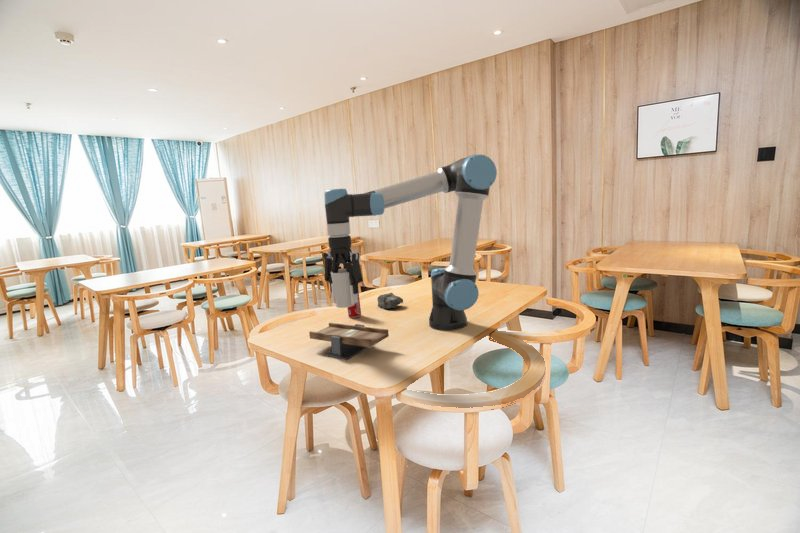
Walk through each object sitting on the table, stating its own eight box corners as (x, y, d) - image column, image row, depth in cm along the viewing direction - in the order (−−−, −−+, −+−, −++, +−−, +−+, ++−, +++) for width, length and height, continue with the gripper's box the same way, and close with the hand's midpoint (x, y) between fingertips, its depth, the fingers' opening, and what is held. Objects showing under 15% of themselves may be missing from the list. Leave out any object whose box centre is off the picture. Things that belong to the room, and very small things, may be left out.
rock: (406, 305, 193) (405, 292, 192) (398, 311, 185) (397, 297, 184) (381, 304, 199) (380, 291, 198) (372, 309, 191) (371, 296, 190)
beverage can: (356, 319, 177) (353, 285, 174) (344, 317, 180) (341, 284, 178) (364, 315, 182) (361, 282, 179) (352, 313, 185) (350, 281, 183)
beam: (388, 336, 139) (388, 329, 138) (370, 347, 129) (369, 340, 129) (330, 328, 152) (330, 322, 152) (309, 338, 143) (309, 331, 142)
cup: (352, 308, 135) (349, 273, 132) (330, 308, 136) (326, 273, 134) (360, 302, 142) (357, 268, 140) (338, 302, 144) (335, 269, 142)
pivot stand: (374, 343, 146) (373, 325, 144) (346, 360, 132) (345, 340, 131) (352, 339, 151) (350, 322, 150) (323, 355, 137) (321, 336, 136)
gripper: (370, 234, 133) (375, 301, 137) (324, 234, 144) (330, 297, 147) (356, 237, 127) (362, 307, 131) (309, 237, 137) (315, 302, 141)
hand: (345, 301), depth 139 cm, fingers closed on cup, 7 cm apart
